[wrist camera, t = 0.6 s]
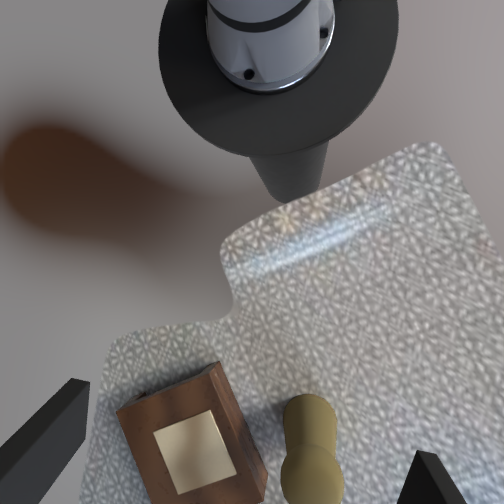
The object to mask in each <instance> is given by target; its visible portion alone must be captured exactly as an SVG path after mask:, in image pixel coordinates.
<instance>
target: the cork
mask: <svg viewBox="0 0 504 504" xmlns="http://www.w3.org/2000/svg"><path fill="white" fill-rule="evenodd" d="M283 426H284V434H285V443H286V452H287V456H286V457H285V459H284V462H283V464H282V467H281V479H280V483H281V487H282V491H283V494H284V497H285V499H286V500H287V502H288V503H289V504H340V503H341V501H342V498H343V494H344V478H343V474H342V471H341V468H340V466H339V464H338V462H337V461H336V459H335V455H336V435H337V418H336V415H335V411H334V410H333V408H332V407H331V405H330V404H329V403H328V402H327V401H325V400H324V399H323V398H321V397H319V396H316V395H312V394H303V395H299V396H297V397H295V398H293V399H292V400H291V401H290V402H289V403H288V404H287V405H286V407H285V410H284V413H283Z"/></svg>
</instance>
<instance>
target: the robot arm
mask: <svg viewBox="0 0 504 504" xmlns="http://www.w3.org/2000/svg"><path fill="white" fill-rule="evenodd" d="M207 1H208V31H207V37H208V39H209V46H210V50H211V53H212V56H213V58H214V60H215V62H216V65H217V67H218V69H219V70H220V72H221V73H222V75H223V76H224V77H225V78H226V80H228V81H229V82H230V83H231V84H232V85H233V86H235V87H236V88H238V89H240V90H242V91H244V92H247V93H250V94H254V95H264V96H268V95H276V94H281V93H285V92H287V91H290V90H292V89H294V88H296V87H298V86H300V85H301V84H303V83H304V82H306V81H307V80H308V79H309V78H310V77H311V76H312V75H313V74H314V73H315V72H316V71H317V70H318V69H319V67H320V66H321V65H322V63H323V62H324V60H325V58H326V56H327V54H328V52H329V49H330V46H331V43H332V38H333V31H334V22H335V14H334V6H333V1H341V0H207ZM206 27H207V21H206ZM89 390H90V382H88V381H83V380H78V379H74V378H71V379H70V380H69V381H68V382H67V383H66V384H65V385H64V386H63V387H62V388H61V389H60V390H59V391H58V392H57V393H56V394H55V395H53V397H51V398H50V399H49V400H48V401H47V402H46V403H45V404H44V405H43V406H42V407H41V408H40V409H39V410H38V411H37V412H36V413H35V414H34V415H33V416H32V417H31V418H30V419H29V420H28V421H27V422H26V423H25V424H24V425H23V426H22V427H21V428H20V429H19V430H18V431H17V432H16V433H15V434H13V435H12V436H11V437H10V438H9V439H8V440H7V441H6V442H5V443H4V444H3V445H2V446H1V447H0V504H38V503H39V502H40V501H41V499H42V498H43V497H44V495H45V494H46V493H47V491H48V490H49V489H50V487H51V486H52V484H53V483H54V482H55V480H56V479H57V477H58V476H59V475H60V473H61V472H62V471H63V469H64V468H65V466H66V465H67V464H68V462H69V461H70V460H71V458H72V457H73V455H74V454H75V453H76V451H77V450H78V448H79V447H80V446H81V444H82V443H83V442H84V440H85V436H86V424H87V413H88V400H89ZM397 504H467V503H466V501H465V500H464V498H463V496H462V495H461V493H460V492H459V490H458V488H457V487H456V485H455V484H454V482H453V480H452V479H451V477H450V475H449V474H448V472H447V471H446V469H445V467H444V466H443V464H442V463H441V461H440V459H439V458H438V456H437V454H434V453H429V452H424V451H419V450H417V451H416V454H415V456H414V459H413V462H412V464H411V467H410V470H409V472H408V475H407V478H406V480H405V483H404V486H403V488H402V491H401V493H400V496H399V499H398V501H397Z"/></svg>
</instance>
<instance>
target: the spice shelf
mask: <svg viewBox="0 0 504 504" xmlns="http://www.w3.org/2000/svg"><path fill="white" fill-rule="evenodd" d="M116 414H117V417H118V419H119V422H120V424H121V427H122V429H123V432H124V434H125V437H126V439H127V442H128V445H129V447H130V450H131V452H132V455H133V457H134V460H135V462H136V465H137V467H138V470H139V472H140V475H141V477H142V480H143V482H144V485H145V487H146V490H147V493H148V495H149V498H150V500H151V503H152V504H257V503H260V502H263V501H264V496H265V489H266V483H267V477H268V473H267V471H266V469H265V466H264V464H263V462H262V459H261V457H260V455H259V452H258V450H257V448H256V445H255V443H254V441H253V438H252V436H251V434H250V431H249V429H248V427H247V424H246V422H245V420H244V417H243V415H242V413H241V410H240V408H239V406H238V403H237V401H236V399H235V396H234V394H233V392H232V389H231V387H230V385H229V382H228V380H227V378H226V375H225V373H224V371H223V368H222V366H221V364H220V361H218V362H215V363H213V364H210V365H208V366H207V367H206V368H205V370H204V371H203V372H202V373H201V374H198V375H196V376H193V377H191V378H189V379H186V380H184V381H181V382H179V383H176V384H174V385H172V386H169V387H167V388H164V389H162V390H159V391H157V392H155V393H152V394H150V395H147V394H146V392H143V393H140V394H138V395H135V396H134V397H133V398H132V399H130V400H129V401H128V402H127V403H125V404H124V405H123V406H122V407H121V408H120V409H118V410H117V411H116Z"/></svg>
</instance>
